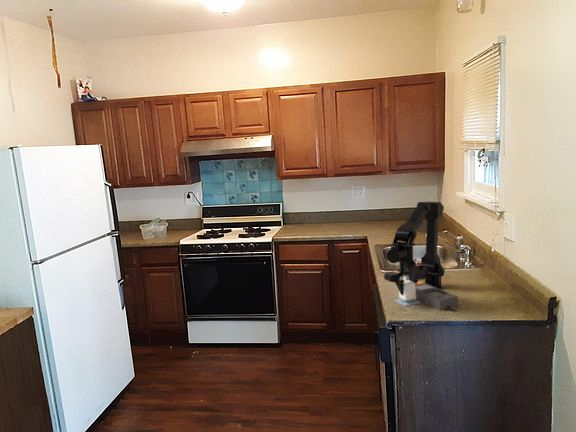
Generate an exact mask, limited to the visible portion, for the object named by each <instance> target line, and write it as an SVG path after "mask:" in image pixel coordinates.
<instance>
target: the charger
mask: <svg viewBox="0 0 576 432" xmlns="http://www.w3.org/2000/svg"><path fill="white" fill-rule="evenodd" d="M400 298H401V299H403V300H405V301H409V300H413V299H416V294H415V283H414V282H412V281H410V280H405V281H404V283H403V295H401V293H400V291H399V290H398V299H400ZM416 300H417V299H416Z"/></svg>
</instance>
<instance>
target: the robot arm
mask: <svg viewBox="0 0 576 432" xmlns="http://www.w3.org/2000/svg"><path fill="white" fill-rule="evenodd" d="M444 211H445V210H444V205H443V204H442V202H440V201H419V202H417V203H416V207H415V209H414V210H413V212H412V213H411V215H410V216H409V218H408V220H407V221H406V222H404V223H403V224H401V225H399V227H398V228H397V229H396V231H395V234H394V236H393V240H392V242H391V246H390V249H389V250H388V251H387V253H386V259H387V261H388V262H389V263H391V264H396V263H398V264H399V268H397V272H395V271H392V270H391V271H387V272H385V273H384V275H383V279H384V280H386V281H387V282H390V283H395V286H396V287H397V289H398V292H399V291H400V293H401V295H403V283H404V279H403V277H405V276H409V280H410V281H412V282H414V283H415V287H416V284H417V282H418V281H419V280H421V279H423V277H422V276H424V277H425V278H424V283H426V284H429V285H431V286H434V287H436V288H439V289H444V286H443V285H442V277H444V275H445V272H446V271H445V268H444V267H443V265H442V262H441V261H442V260H441V258H440V255H439V254H438V243H439V242H438V238H439V221H440V220H441V218H442V217H443V212H444ZM424 217H425V218H424ZM423 219H425V221H426V223H427V233H426V235H425V236H426V240H425V242H426V243H425V254H424V255H423V256H422V257H420V260H421V261H420V263H421V266H416V262H415V259H414V246H416V243H415V240H416V238H417V236H418V232H417V228H418V226H419V224H420V223H421V221H422V222H423ZM403 274H404V275H403Z"/></svg>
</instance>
